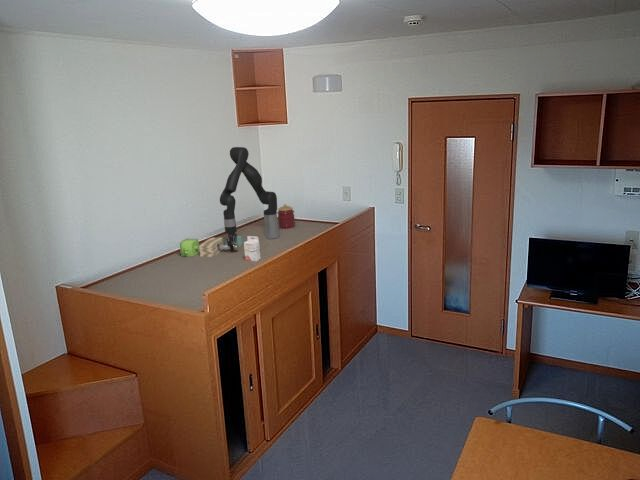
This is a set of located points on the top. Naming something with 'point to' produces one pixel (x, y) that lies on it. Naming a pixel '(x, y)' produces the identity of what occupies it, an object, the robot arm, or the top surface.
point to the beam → (210, 247)
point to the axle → (227, 247)
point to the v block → (239, 241)
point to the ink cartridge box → (252, 249)
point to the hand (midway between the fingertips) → (233, 250)
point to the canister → (286, 217)
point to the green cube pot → (189, 247)
